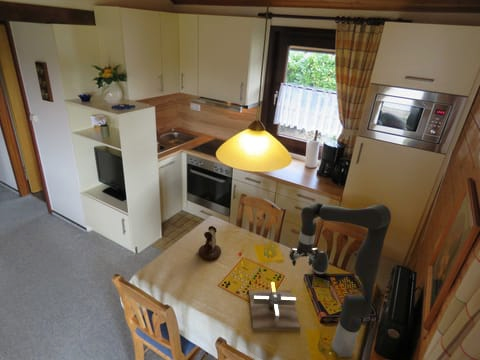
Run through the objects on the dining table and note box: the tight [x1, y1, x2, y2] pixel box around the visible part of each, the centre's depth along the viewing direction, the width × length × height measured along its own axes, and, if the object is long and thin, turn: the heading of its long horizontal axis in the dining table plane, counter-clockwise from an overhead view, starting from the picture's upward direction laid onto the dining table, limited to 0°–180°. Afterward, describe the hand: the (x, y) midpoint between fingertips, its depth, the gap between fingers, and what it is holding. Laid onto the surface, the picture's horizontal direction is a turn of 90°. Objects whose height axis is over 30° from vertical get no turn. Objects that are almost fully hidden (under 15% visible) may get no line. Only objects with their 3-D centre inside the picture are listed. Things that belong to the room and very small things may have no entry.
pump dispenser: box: [311, 250, 330, 275], centre depth 190 cm, size 10×10×15 cm
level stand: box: [248, 289, 302, 331], centre depth 164 cm, size 24×24×2 cm
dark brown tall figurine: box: [198, 225, 222, 261], centre depth 197 cm, size 15×15×20 cm
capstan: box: [253, 281, 297, 321], centre depth 161 cm, size 22×22×8 cm
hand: (301, 264), depth 161 cm, fingers open, 8 cm apart
